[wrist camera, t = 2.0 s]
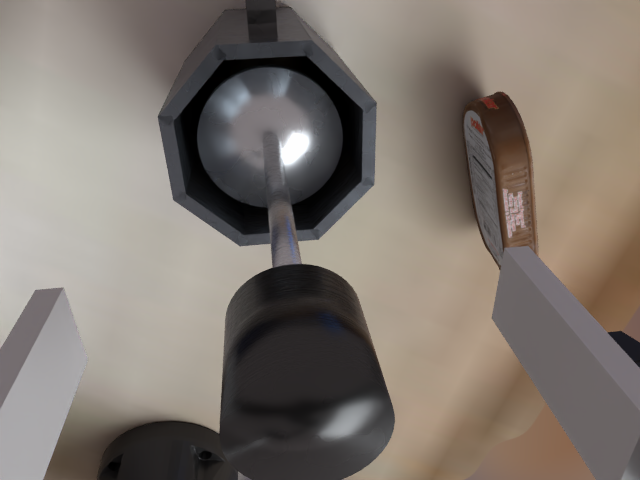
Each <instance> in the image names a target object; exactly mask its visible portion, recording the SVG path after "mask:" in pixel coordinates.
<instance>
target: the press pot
mask: <svg viewBox="0 0 640 480" xmlns="http://www.w3.org/2000/svg"><path fill="white" fill-rule="evenodd" d="M259 65H279V66H285V67H289V68H292V69H295V70H297V71H300V72H302V73H304V74H306V75H307V76H309V77H310V78H312V79H313V80H314V81H316V82H317V83H318V84H319V85H320V86H321V87H322V88H323V89H324V90H325V91H326V93H327V94H328V96H329V97H330V98H331V100H332V102H333V104H334V106H335V108H336V110H337V112H338V115H339V118H340V121H341V125H342V133H343V143H342V151H341V156H340V158H339V161H338V164H337V166H336V168H335V170H334V172H333V174H332V175H331V177H330V178H329V180H328V181H327V182H326V183H325V184H324V185H323V186H322V187H321V188H320V189H319V190H318V191H317V192H315V193H314V194H312V195H311V196H310V197H308V198H306V199H304V200H302V201H300V202H297V203H295V204H291V206H292V211H293V217H294V223H295V229H296V234H297V240H298V241H306V240H317V239H319V238H320V237H321V236H322V235H323V234H325V233H326V232H327V231H328V230H329V229H330V228H331V227H332V226H333V225H334V224H335V223H336V222H337V221H338V220H339V219H340V218H341V217H342V216H343V215H344V214H345V213H346V212H347V211H348V210H349V209H350V208H351V207H352V206H353V205H354V204H355V203H356V202H357V201H358V200H359V199H360V198H361V197H362V196H363V195H364V194H365V193H366V192H367V191H368V190H369V189H370V188H371V187H372V186H373V185H374V174H375V139H376V104H377V103H376V102H375V100H374V99H373V98H372V97H371V95H370V94H369V93H368V92H367V90H366V89H365V88H364V87H363V85H362V84H361V83H360V82H359V80H358V79H357V78H356V77H355V75H354V74H353V73H352V72H351V70H350V69H349V68H348V67H347V65H346V64H345V63H344V62H343V60H342V59H341V58H340V57H339V56H338V54H337V53H336V52H335V51H334V50H333V49H332V48H331V47H330V46H329V45H328V44H327V43H326V42H325V41H324V40H323V39H322V38H321V37H320V36H319V35H318V34H317V33H316V32H315V31H314V30H313V29H312V28H311V27H310V26H309V25H308V24H307V23H306V22H305V21H304V20H303V19H302V18H301V17H300V16H299V15H298V14H297V13H296V12H295V11H294V10H293V9H292V8H291V7H279V8H276V3H275V0H246V9H233V10H225V11H224V12H223V13H222V15H221V16H220V17H219V18H218V20H217V21H216V22H215V23H214V25H213V26H212V27H211V29H210V30H209V31H208V32H207V34H206V35H205V36H204V37H203V39H202V40H201V41H200V43H199V44H198V45H197V46H196V48H195V49H194V50H193V51H192V53H191V54H190V55H189V57H188V58H187V59H186V60H185V62H184V64H183V66H182V68H181V70H180V72H179V74H178V76H177V78H176V80H175V82H174V84H173V86H172V88H171V90H170V93H169V95H168V97H167V99H166V101H165V103H164V105H163V107H162V109H161V111H160V113H159V115H158V121H159V126H160V131H161V137H162V142H163V147H164V152H165V158H166V163H167V168H168V174H169V179H170V184H171V190H172V195H173V200H174V201H176V202H177V203H178V204H180V205H181V206H183V207H184V208H186V209H187V210H189V211H190V212H191V213H193V214H194V215H196V216H197V217H199V218H200V219H202V220H203V221H204V222H206V223H207V224H209V225H210V226H212V227H213V228H215V229H216V230H217V231H219V232H220V233H222V234H223V235H225V236H226V237H228V238H229V239H230V240H232V241H233V242H235V243H236V244H238V245H239V246H248V245H259V244H271V241H270V229H269V218H268V208H267V207H258V206H253V205H249V204H246V203H243V202H241V201H239V200H237V199H234V198H233V197H231V196H230V195H228V194H226V193H225V192H224V191H223V190H221V189H220V188H219V187H218V186H217V185H216V184H215V183H214V182H213V180H212V179H211V178H210V176H209V175H208V173H207V172H206V170H205V168H204V166H203V164H202V161H201V158H200V155H199V150H198V143H197V131H198V125H199V120H200V116H201V113H202V110H203V107H204V105H205V103H206V101H207V99H208V97H209V96H210V95H211V93H212V92H213V90H214V89H215V88H216V87H217V86H218V85H219V84H220V83H221V82H223V81H224V80H225V79H226V78H228V77H229V76H231V75H233V74H234V73H236V72H238V71H241V70H243V69H245V68H249V67H253V66H259Z"/></svg>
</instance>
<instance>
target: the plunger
mask: <svg viewBox="0 0 640 480" xmlns="http://www.w3.org/2000/svg"><path fill="white" fill-rule="evenodd" d="M197 143H198V150H199V155H200V158H201V161H202V164H203V166H204V168H205V170H206V172H207V173H208V175H209V176H210V178H211V179H212V180H213V182H214V183H215V184H216V185H217V186H218V187H219V188H220V189H221V190H223V191H224V192H225V193H226V194H228V195H230V196H231V197H233V198H234V199H237V200H239V201H241V202H243V203H246V204H249V205H253V206H258V207H267V208H268V218H269V229H270V241H271V253H272V265H273V268H271V269H268V270H266V271H263V272H261V273H259V274H257V275H255V276H254V277H252V278H251V279H249V280H248V281H247V282H246V283H244V284H243V285H242V286H241V287H240V288H239V289H238V291H237V292H236V293H235V294H234V296H233V298H232V299H231V301H230V303H229V306H228V308H227V312H226V319H225V336H224V356H223V375H222V394H221V414H220V433H219V437H220V445H221V448H222V451H223V453H224V455H225V457H226V459H227V460H228V461H229V463H230V464H231V465H232V466H233V467H234V468H235V469H236V470H237V471H239V472H240V473H242V474H243V475H244V476H246V477H248V478H250V479H252V480H342V479H344V478H346V477H349V476H351V475H353V474H355V473H356V472H358V471H360V470H361V469H363V468H364V467H366V466H367V465H369V464H370V463H371V462H372V461H373V460H375V459H376V458H377V457H378V455H379V454H380V453H381V452H382V451H383V450H384V448H385V447H386V445H387V444H388V442H389V440H390V438H391V435H392V433H393V429H394V423H395V417H394V410H393V406H392V403H391V400H390V396H389V393H388V390H387V387H386V384H385V381H384V377H383V374H382V371H381V368H380V365H379V362H378V358H377V355H376V352H375V349H374V346H373V343H372V339H371V336H370V333H369V330H368V327H367V324H366V321H365V317H364V314H363V311H362V308H361V305H360V302H359V299H358V297H357V294H356V293H355V291H354V289H353V288H352V287H351V286H350V284H349V283H348V282H347V281H346V280H344V279H343V278H342V277H341V276H339V275H337V274H336V273H334V272H332V271H330V270H328V269H325V268H322V267H319V266H314V265H307V264H302V263H301V257H300V252H299V246H298V240H297V234H296V229H295V223H294V217H293V211H292V206H291V204H295V203H297V202H300V201H302V200H304V199H306V198H308V197H310V196H311V195H312V194H314V193H315V192H317V191H318V190H319V189H320V188H321V187H322V186H323V185H324V184H325V183H326V182H327V181H328V180H329V178H330V177H331V175H332V174H333V172H334V170H335V168H336V166H337V164H338V161H339V158H340V156H341V151H342V143H343V133H342V125H341V121H340V118H339V115H338V112H337V110H336V108H335V106H334V104H333V102H332V100H331V98H330V97H329V96H328V94H327V93H326V91H325V90H324V89H323V88H322V87H321V86H320V85H319V84H318V83H317V82H316V81H314V80H313V79H312V78H310V77H309V76H307V75H306V74H304V73H302V72H300V71H297V70H295V69H292V68H289V67H285V66H279V65H259V66H253V67H249V68H245V69H243V70H241V71H238V72H236V73H234V74H233V75H231V76H229V77H228V78H226V79H225V80H224V81H223V82H221V83H220V84H219V85H218V86H217V87H216V88H215V89H214V90H213V92H212V93H211V95H210V96H209V97H208V99H207V101H206V103H205V105H204V107H203V110H202V113H201V116H200V120H199V125H198V131H197Z"/></svg>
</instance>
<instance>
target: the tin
mask: <svg viewBox="0 0 640 480" xmlns="http://www.w3.org/2000/svg"><path fill="white" fill-rule="evenodd" d="M463 134H464V142H465V149H466V157H467V165H468V172H469V179H470V186H471V193H472V199H473V206H474V211H475V215H476V220H477V224H478V227H479V231H480V234H481V237H482V239H483V242H484V244H485V246H486V248H487V250H488V251H489V252H490V254H491V255H492V257H493V259H494V261H495V262H496V264H497V265H498V267H499V269H500V270H501V264H502V259H503V253H504V248H510V247H521V246H529V247H530V248H531V250H532V251H533V252H534V253H535V254H536V255H537V256H538V235H537V220H536V206H535V191H534V175H533V161H532V154H531V149H530V144H529V140H528V137H527V133H526V130H525V127H524V123H523V121H522V118H521V116H520V114H519V112H518V110H517V108H516V106H515V105H514V103H513V101H512V100H511V99H510V98H509V96H508V95H506V94H505V93H503V92H496V93H495V94H494V95H490V96H487V97H484V98H480V99H477V100H474V101H471V102H470V103H468V104H467V105H466V107H465V109H464V112H463Z"/></svg>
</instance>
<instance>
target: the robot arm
mask: <svg viewBox="0 0 640 480" xmlns="http://www.w3.org/2000/svg"><path fill="white" fill-rule="evenodd" d="M492 319H493V321H494V322H495V324H496V325H497V327H498V328H499V330H500V332H501V333H502V335H503V336H504V338H505V339H506V341H507V342H508V344H509V346H510V347H511V349H512V350H513V352H514V353H515V355H516V356H517V358H518V359H519V361H520V363H521V364H522V366H523V367H524V369H525V370H526V372H527V373H528V375H529V377H530V378H531V380H532V381H533V383H534V384H535V386H536V387H537V389H538V391H539V392H540V394H541V395H542V397H543V398H544V400H545V401H546V403H547V404H548V406H549V408H550V409H551V411H552V412H553V414H554V415H555V417H556V418H557V420H558V421H559V423H560V425H561V426H562V428H563V429H564V431H565V432H566V434H567V436H568V437H569V439H570V440H571V442H572V443H573V445H574V446H575V448H576V449H577V451H578V453H579V454H580V456H581V457H582V459H583V460H584V461H585V463H586V465H587V467H588V468H589V470H590V471H591V473H592V474H593V476H594V477H595V479H596V480H640V343H639V342H638V341H636V340H635V339H633V338H631V337H630V336H628V335H627V334H625V333H623V332H622V331H617V332H608V333H607V332H606V331H605V330H604V328H603V327H602V326H601V325H600V324H599V323H598V322H597V321H596V320H595V319H594V317H593V316H592V315H591V314H590V313H589V312H588V311H587V310H586V309H585V308H584V307H583V305H582V304H581V303H580V302H579V301H578V300H577V299H576V298H575V297H574V296H573V294H572V293H571V292H570V291H569V290H568V289H567V288H566V287H565V286H564V285H563V284H562V282H561V281H560V280H559V279H558V278H557V277H556V276H555V275H554V274H553V273H552V271H551V270H550V269H549V268H548V267H547V266H546V265H545V264H544V263H543V262H542V261H541V259H540V258H539V257H538V256H537V255H536V254H535V253H534V252H533V251H532V250H531V248H530V247H529V246H521V247H510V248H504V253H503V259H502V264H501V270H500V275H499V281H498V286H497V292H496V297H495V303H494V309H493V314H492ZM87 361H88V358H87V355H86V352H85V349H84V346H83V343H82V340H81V337H80V334H79V331H78V328H77V325H76V322H75V320H74V317H73V314H72V311H71V308H70V305H69V302H68V299H67V296H66V293H65V290H64V288H53V289H42V290H35V292H34V294H33V295H32V297H31V299H30V300H29V302H28V304H27V305H26V307H25V309H24V310H23V312H22V314H21V315H20V317H19V319H18V320H17V322H16V324H15V326H14V327H13V329H12V331H11V332H10V334H9V336H8V337H7V339H6V341H5V342H4V344H3V346H2V347H1V349H0V480H43V479H44V476H45V473H46V470H47V468H48V465H49V462H50V460H51V457H52V454H53V452H54V449H55V446H56V444H57V441H58V438H59V436H60V433H61V430H62V428H63V425H64V422H65V420H66V417H67V414H68V412H69V409H70V406H71V404H72V401H73V398H74V396H75V393H76V390H77V388H78V385H79V382H80V380H81V377H82V374H83V372H84V369H85V366H86V364H87ZM97 480H238V471H237V470H236V469H235V468H234V467H233V466H232V465H231V464H230V463H229V461H228V460H227V459H226V457H225V455H224V453H223V451H222V448H221V445H220V437H219V434H217V433H215V432H214V431H212V430H209V429H207V428H204V427H201V426H198V425H194V424H189V423H181V422H162V423H154V424H148V425H144V426H141V427H138V428H135V429H133V430H130V431H128V432H126V433H124V434H123V435H121V436H120V437H118V438H117V439H116V440H114V441H113V442H112V443H111V444H110V445H109V447H108V448H107V449H106V451H105V453H104V454H103V457H102V460H101V464H100V468H99V471H98V475H97Z"/></svg>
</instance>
